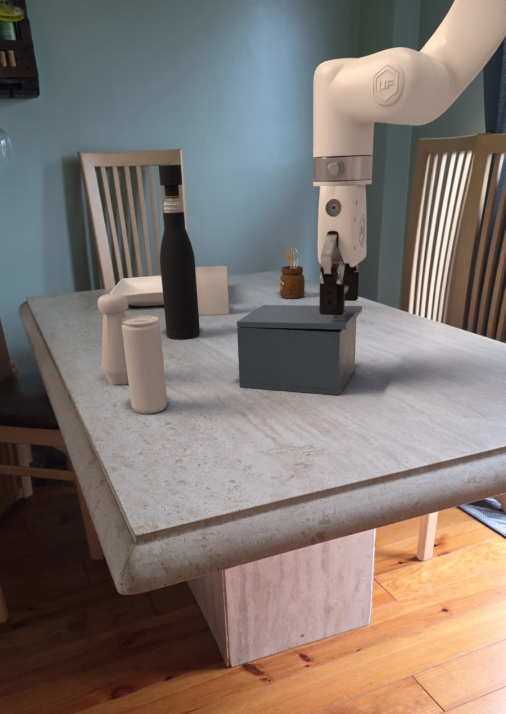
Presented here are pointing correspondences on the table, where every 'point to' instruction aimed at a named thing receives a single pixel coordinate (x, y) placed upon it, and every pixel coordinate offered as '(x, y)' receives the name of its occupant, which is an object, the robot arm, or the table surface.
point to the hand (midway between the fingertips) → (339, 307)
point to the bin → (296, 358)
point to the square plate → (141, 290)
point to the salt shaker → (113, 337)
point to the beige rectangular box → (212, 290)
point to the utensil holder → (292, 279)
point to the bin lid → (299, 317)
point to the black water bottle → (177, 263)
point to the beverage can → (145, 363)
